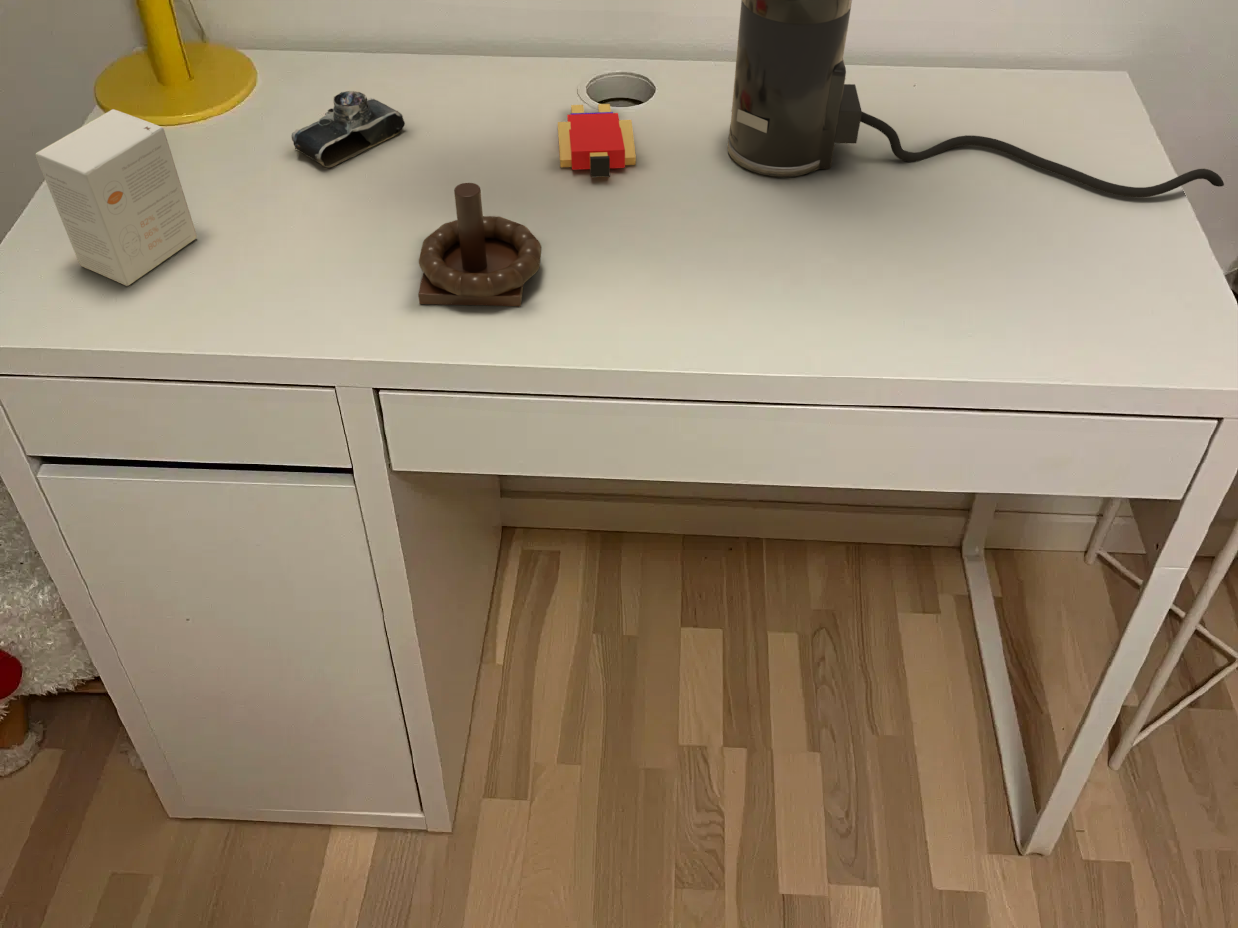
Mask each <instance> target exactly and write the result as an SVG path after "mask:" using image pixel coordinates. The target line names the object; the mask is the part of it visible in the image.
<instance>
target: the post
mask: <svg viewBox="0 0 1238 928" xmlns="http://www.w3.org/2000/svg"><path fill="white" fill-rule="evenodd" d="M453 191H454V193H453V194H454V201H455V202H454V203H455V211H456V220H457V222H458V231H459V240H460V243H457V244H454V245H453V246H452V247H451V248H450V249H448V250H447V251H446V252H445V253H444V255H443V261H444V262H445V263H446V265H447V266H448V267H450V268H453V269H456V270H458V271H461V272H463V273H490V272H493V271H496V270H499V269H503V268H506V267H508V266H509V265H510V264H511V263H513V262H514V261H515V260H516V259H517V258H518V251H517V249H516V248H515V247H514V246H513V245H512V244H509V243H507V242H504V241H501V240H499V239H491V238H485V234H484V223H483V216H484V213H483V212H484V211H483V201H482V189H481V187H480V185H479V184H477V183H475V182H462V183H459V184H457V185H456V186H455V187H454V190H453ZM524 285H525V283H524V284H523V285H522V286H521V287H519V288H517V289H514V290H511V291H508V292H504V293H501V294H498V295H495V296H492V297H472V296H458V295H456V294H453V293H451V292H448V291H446V290H443V289H441V288H438V287H436V286H434V285H433V284H432V283H431V282H430V280H429V279H428V278H427V276H426V275H425V273H424V272H423V271H422V277H421V281H420V284H419V290H418V294H417V295H418V296H417V297H418V302H419V305H449V306H453V305H454V306H490V307H491V306H492V307H493V306H494V307H496V306H498V307H521V306H522V299H523V292H524Z"/></svg>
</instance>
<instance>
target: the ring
mask: <svg viewBox="0 0 1238 928" xmlns="http://www.w3.org/2000/svg"><path fill="white" fill-rule="evenodd" d="M483 223H484V234H485V238H491V239H499V240H501V241H504V242H507V243H509V244H512V245H513V246H514V247H515V248H516V249H517V251H518V258H517V259H516V260H515V261H514V262H513V263H511V264H510V265H509V266H508V267H506V268H503V269H499V270H496V271H493V272H490V273H463V272H461V271H458V270H456V269H453V268H450V267H448V266H447V265H446V263H445V262H444V261H443V255H444V253H445V252H446V251H447V250H448V249H450V248H451V247H452V246H453V245H454V244H457V243H460V240H459V231H458V222H457V219H455V220H452V221H449V222H445V223H443V224H441V225H440V226H439V227H438V228H436V229H435V230H434V231H433V232H432V233H430V234H429V235H428V236H427V237H425V239H424V240H423V242H422V245H421V249H420V254H419V258H418V266H419V268H420V269H421V271H422V273H423V272H424V273H425V275H426V276H427V278H428V279H429V280H430V282H431V283H432V284H433V285H434V286H436V287H438V288H441V289H443V290H446V291H448V292H451V293H453V294H456V295H458V296H472V297H492V296H495V295H498V294H501V293H504V292H508V291H511V290H514V289H517V288H519V287H521V286H522V285H523V284H524V285H525V283H526V282H528V281H529V280H530V279H531V278H532V277H533V276H534V275H535V274H536V273H537V272H538V271H539V269H540V267H541V258H542V244H541V242H540V240H538V238H537V237H536V236H535V235H534V234H533V232H531V230H530V229H529V228H528V227H527V226H526V225H524V224H522V223H519V222H517V221H514V220H511V219H508V218H506V217H503V216H499V215H489V216H488V215H483ZM524 285H523V286H524Z"/></svg>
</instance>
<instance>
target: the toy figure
mask: <svg viewBox="0 0 1238 928" xmlns="http://www.w3.org/2000/svg"><path fill="white" fill-rule="evenodd" d="M570 108H571V109H570V114H567V115H566V118H567V121H557V136H558V149H559V150H558V152H559V164H560V165H559V167H560V168H571V170H572V171H574V170H575V171H577V170H589V172H590V173H589V175H590V178H605V177H608V178H609V177H610V176H611V171H610V170H611V169H624V168H626V166H636V161H637V155H636V147H635V138H634V130H633V121H632V119H620V116H619V112H613V111H612V107H611V104H610V103H598V104H597V112H585V108H584V104H570Z"/></svg>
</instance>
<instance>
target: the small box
mask: <svg viewBox="0 0 1238 928" xmlns="http://www.w3.org/2000/svg"><path fill="white" fill-rule="evenodd" d="M35 158H36V161H37V163H38V166H39V168H40V171H41V173H42V175H43V178H44V181H45V183H46V184H47V187H48V190H49V193H50V195H51V199H52V200H53V202H54V205H55V208H56V210H57V212H58V215H59V217H60V220H61V222H62V225H63V227H64V230H65V232H66V235H67V237H68V240H69V242H70V245H71V247H72V249H73V251H74V254H75V256H76V259H77V261H78V263H79V265H80V267H82V268H85V269H87V270H89V271H92V272H94V273H96V274H99V275H101V276H102V277H103V276H104V277H105V278H108V279H110V280H112V281H115V282H117V283H119V284H122V285H123V286H126V287H129V286H130V285H131V284H133V283H134V282H136V281H137V280H139V279H140V278H142V277H143V276H145V275H146V274H147V273H149V272H150V271H152V270H153V269H155V268H156V267H157V266H159V265H161V264H162V263H164V261H166V260H167V259H169V258H170V257H172V256H173V255H175V254H176V253H178V252H179V251H180V250H182V249H183V248H185V247H186V246H187V245H189V244H190V243H192V242H193V241H194V240H196V239H197V238H198V235H197V231H196V228H195V224H194V222H193V219H192V216H191V215H192V214H191V212H190V209H189V205H188V203H187V198H186V196H185V192H184V190H183V186H182V183H181V180H180V177H179V174H178V171H177V167H176V164H175V163H176V162H175V161H174V157H173V153H172V149H171V148H170V144H169V142H168V138H167V135H166V131H165V128H164V127H163V126H160V125H158V124H156V123H152V122H150V121H147V120H145V119H142V118H139V117H137V116H134V115H131V114H128V113H125V112H123V111H120V110H117V109H114V108H111V110H108V111H107V112H105V113H103V114H102V115H100V116H98V117H97V118H95V119H93V120H90V122H87V123H86V124H84V125H83V126H80V127H79V128H77V129H75V130H74V131H72V132H70V133H68V134H66V135H65V136H63V137H61V138H60V139H58V140H56V141H55V142H53V143H51V144H49V145H48V146H47V145H46V146H45V147H44V148H42V149H40V150H38V151H37V152H36V153H35Z"/></svg>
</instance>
